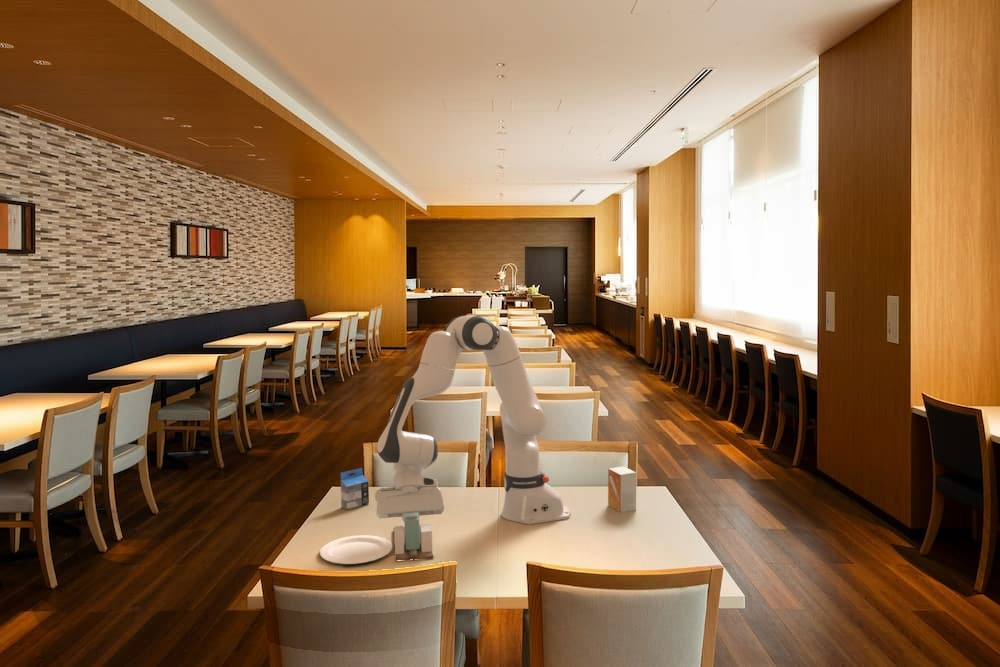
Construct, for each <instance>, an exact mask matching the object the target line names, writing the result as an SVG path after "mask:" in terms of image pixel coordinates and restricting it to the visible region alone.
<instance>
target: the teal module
mask: <svg viewBox="0 0 1000 667" xmlns="http://www.w3.org/2000/svg"><path fill="white" fill-rule="evenodd" d="M419 526H420V516H418V512H416V513H404V527H405V547H406V550H413V549H420V538H419Z"/></svg>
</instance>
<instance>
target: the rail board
mask: <svg viewBox="0 0 1000 667" xmlns="http://www.w3.org/2000/svg"><path fill="white" fill-rule="evenodd" d="M403 532H404V554H395V553H394V554H395V555H394V556H396V557H395V561H396V560H410V559H413V560H412V561H416V560H415V559H425V560H432V559H434V554H433V550H432V551H430V552H422V550H421V543H420V549H413V550H406V547H405V526H403ZM419 538H420V525H419ZM393 540H394V541H395V532H394V531H393Z"/></svg>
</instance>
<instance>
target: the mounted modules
mask: <svg viewBox="0 0 1000 667" xmlns="http://www.w3.org/2000/svg"><path fill="white" fill-rule="evenodd" d="M419 526H420V543H421V550H422V552H430V551H432V552H433V533H432V532H433V530H432V527H431V523H421V524H419ZM403 527H404V526H403V525H397V526H396V525H394V526H393V533H394V532H395V542H394V554H404V532H403Z"/></svg>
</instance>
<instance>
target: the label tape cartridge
mask: <svg viewBox="0 0 1000 667" xmlns="http://www.w3.org/2000/svg"><path fill="white" fill-rule="evenodd" d="M351 474H352V475H351ZM369 493H370V492H369V481H368V479H367V478H366V476H364V474H363V467H359V468H356V469H352V470H346V471H342V472H340V502H341V503H340V504H341V505H340V506H341V509H344V510H346V511H349V510H352V509H356V507H357V508H359V507H364V506H367V504H368V505H370V494H369ZM363 505H364V506H363Z"/></svg>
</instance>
